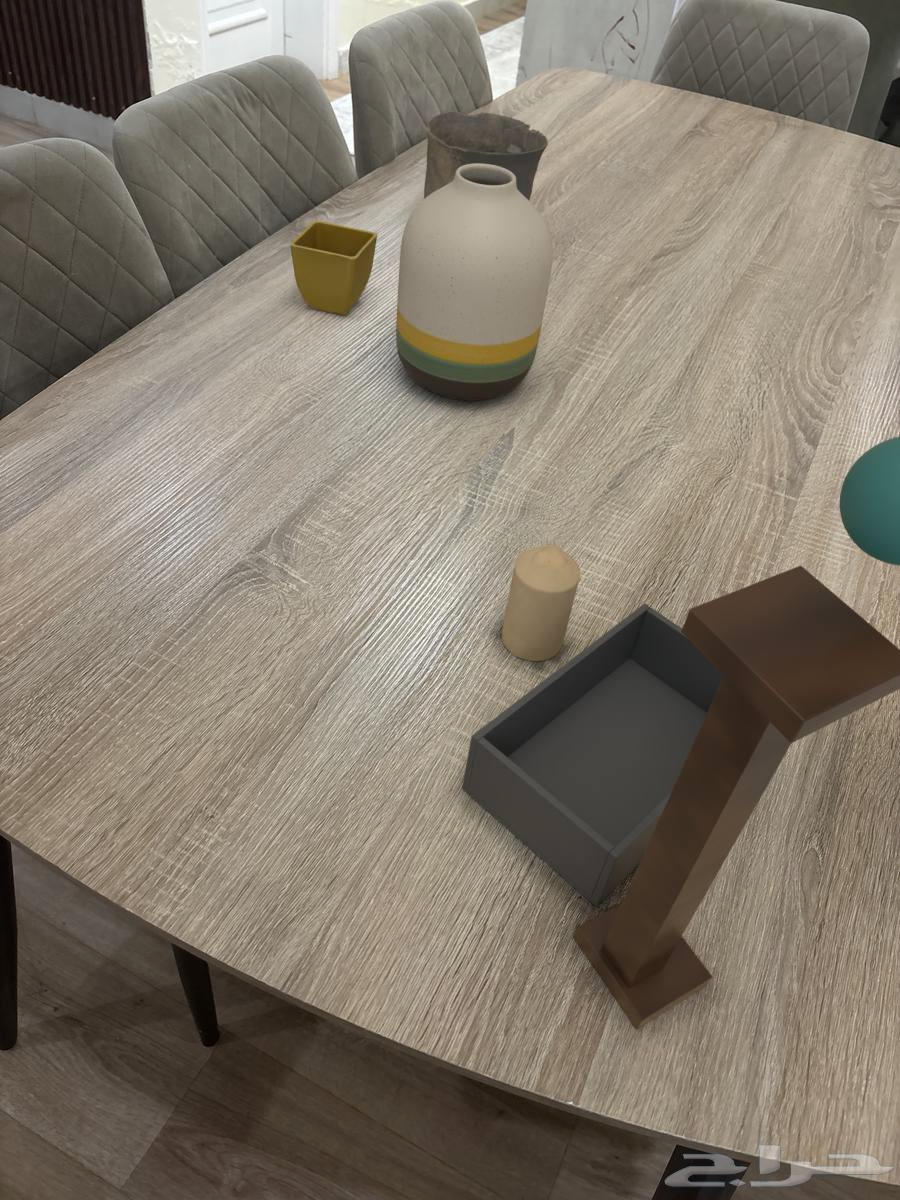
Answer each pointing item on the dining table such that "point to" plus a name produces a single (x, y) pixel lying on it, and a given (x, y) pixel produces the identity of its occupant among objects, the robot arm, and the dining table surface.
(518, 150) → the dark brown chipped pot
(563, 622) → the candle
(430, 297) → the vase
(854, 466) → the rattle
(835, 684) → the stand
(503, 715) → the bin
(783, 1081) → the dining table surface
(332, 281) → the flower pot
